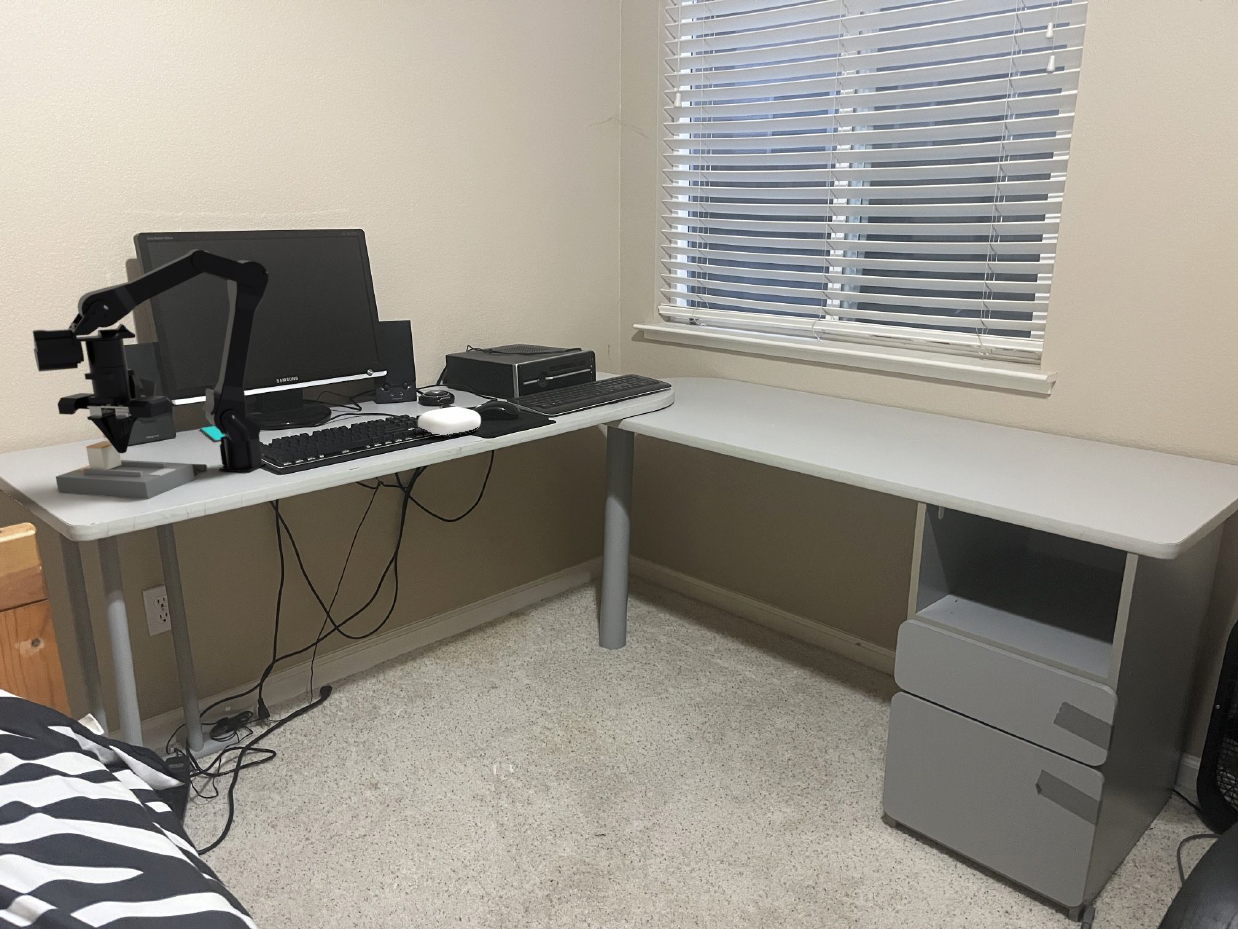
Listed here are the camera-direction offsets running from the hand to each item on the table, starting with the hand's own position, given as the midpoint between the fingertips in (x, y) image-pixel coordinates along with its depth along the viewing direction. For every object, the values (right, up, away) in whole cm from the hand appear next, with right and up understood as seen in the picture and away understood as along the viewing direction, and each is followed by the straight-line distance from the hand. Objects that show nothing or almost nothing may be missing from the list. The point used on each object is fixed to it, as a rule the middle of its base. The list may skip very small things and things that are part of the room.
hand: (122, 452), depth 155 cm
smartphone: (-1, +4, +41) cm, 42 cm away
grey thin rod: (+3, -3, +12) cm, 12 cm away
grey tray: (0, -6, +2) cm, 6 cm away
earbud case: (+50, +5, +41) cm, 65 cm away
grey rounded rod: (+2, -4, +10) cm, 11 cm away
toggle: (-4, -3, +2) cm, 5 cm away
